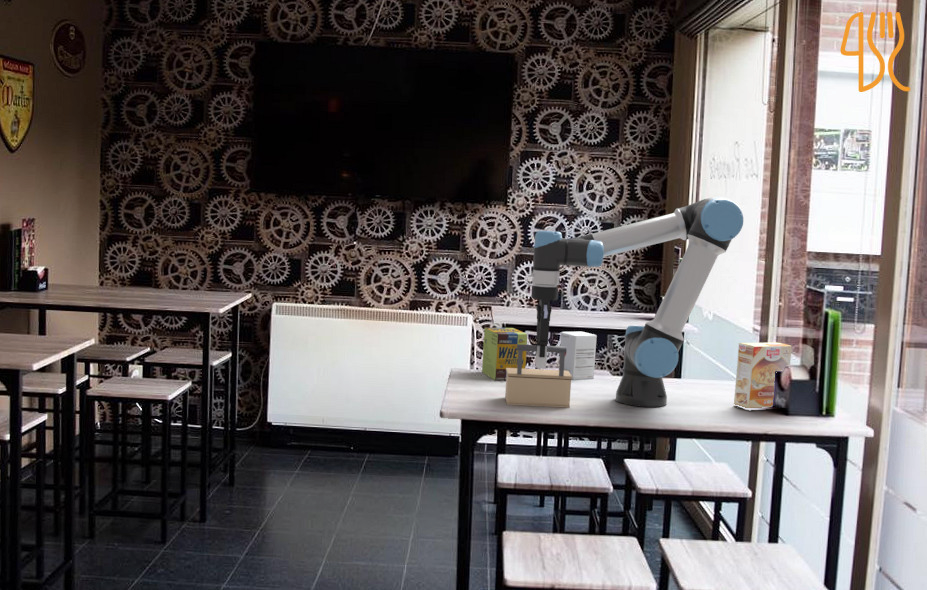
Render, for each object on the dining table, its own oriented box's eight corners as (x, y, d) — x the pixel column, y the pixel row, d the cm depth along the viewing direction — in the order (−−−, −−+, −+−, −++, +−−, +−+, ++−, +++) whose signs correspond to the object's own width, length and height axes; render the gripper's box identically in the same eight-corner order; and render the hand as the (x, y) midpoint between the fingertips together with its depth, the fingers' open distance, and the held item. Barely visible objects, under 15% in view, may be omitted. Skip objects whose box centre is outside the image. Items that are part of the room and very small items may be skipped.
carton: (565, 400, 292) (567, 373, 291) (569, 407, 282) (571, 379, 281) (505, 397, 291) (506, 370, 291) (506, 404, 282) (508, 376, 281)
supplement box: (557, 375, 334) (560, 331, 333) (579, 373, 339) (581, 330, 337) (572, 379, 326) (575, 335, 325) (594, 378, 331) (597, 334, 329)
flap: (567, 373, 291) (569, 342, 290) (572, 379, 279) (574, 347, 279) (506, 370, 291) (507, 339, 290) (508, 376, 279) (509, 344, 278)
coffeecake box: (748, 411, 289) (754, 346, 287) (732, 406, 295) (737, 342, 293) (787, 409, 295) (792, 345, 293) (770, 404, 302) (775, 341, 300)
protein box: (494, 381, 318) (497, 333, 316) (481, 372, 332) (483, 326, 331) (525, 381, 320) (528, 333, 319) (510, 372, 335) (513, 327, 334)
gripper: (530, 282, 285) (525, 362, 287) (534, 287, 270) (529, 371, 273) (555, 284, 285) (551, 364, 288) (561, 288, 271) (556, 372, 273)
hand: (540, 367), depth 280 cm, fingers closed on flap, 2 cm apart
